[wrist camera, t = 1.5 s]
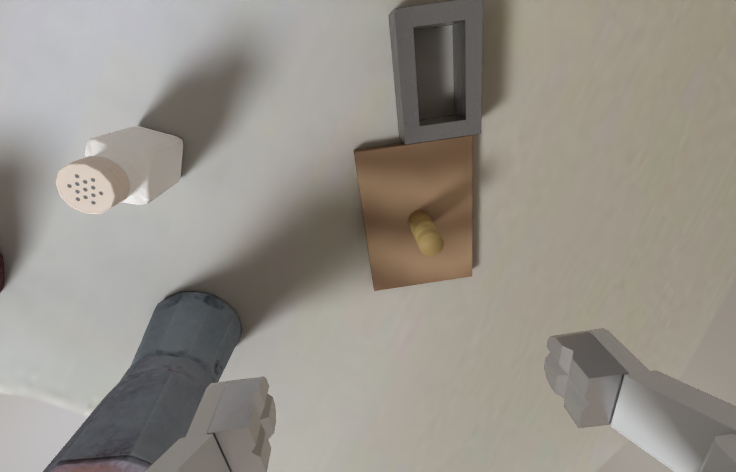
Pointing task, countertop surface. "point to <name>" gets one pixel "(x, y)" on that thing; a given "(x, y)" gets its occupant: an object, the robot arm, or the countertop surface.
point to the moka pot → (156, 388)
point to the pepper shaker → (122, 170)
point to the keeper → (417, 210)
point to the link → (465, 62)
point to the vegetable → (1, 272)
